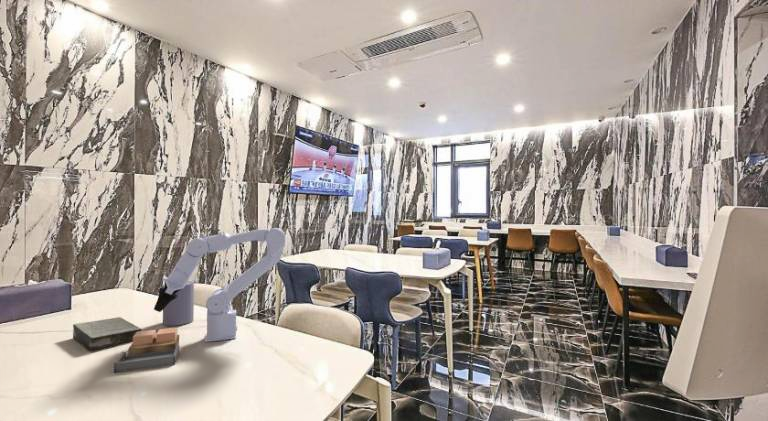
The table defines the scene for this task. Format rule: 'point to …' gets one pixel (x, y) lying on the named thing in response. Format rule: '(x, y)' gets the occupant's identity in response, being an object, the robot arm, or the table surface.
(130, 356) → the tray
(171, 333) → the tile
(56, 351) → the table surface
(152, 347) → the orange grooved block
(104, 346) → the stone block
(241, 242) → the robot arm
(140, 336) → the tile
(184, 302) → the container
